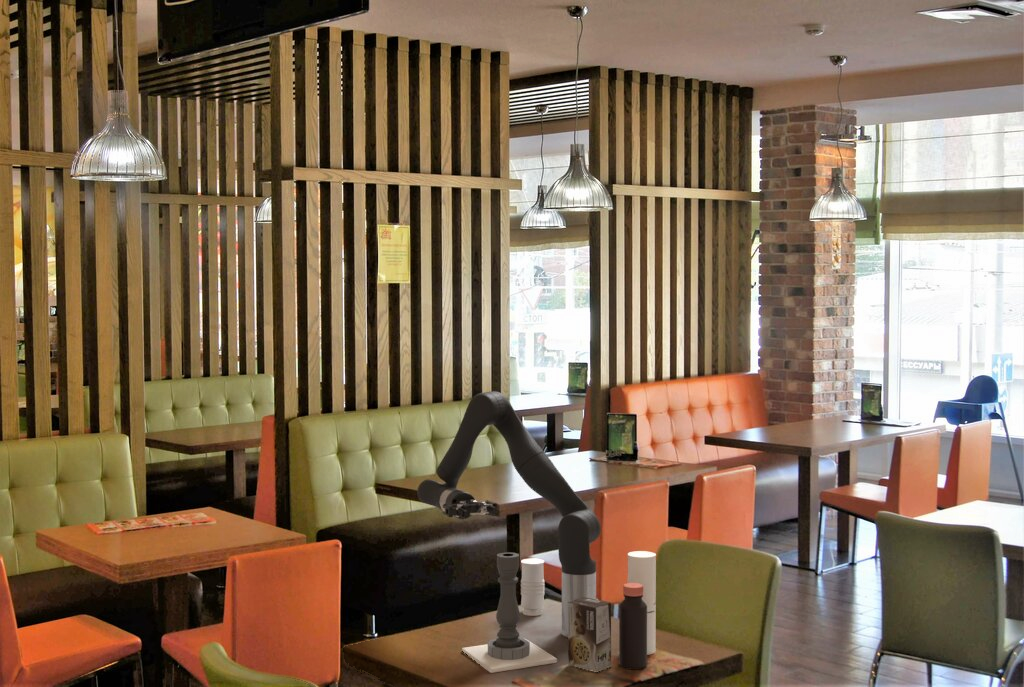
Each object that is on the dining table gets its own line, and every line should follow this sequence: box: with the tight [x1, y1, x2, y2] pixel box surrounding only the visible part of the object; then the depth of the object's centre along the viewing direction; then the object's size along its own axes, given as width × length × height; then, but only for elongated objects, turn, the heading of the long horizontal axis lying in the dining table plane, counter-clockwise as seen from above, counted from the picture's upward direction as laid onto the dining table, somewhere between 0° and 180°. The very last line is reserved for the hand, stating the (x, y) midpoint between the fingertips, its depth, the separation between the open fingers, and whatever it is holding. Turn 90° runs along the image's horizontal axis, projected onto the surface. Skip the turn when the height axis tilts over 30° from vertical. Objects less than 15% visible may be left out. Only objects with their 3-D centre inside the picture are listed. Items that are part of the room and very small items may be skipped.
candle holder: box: [495, 551, 521, 648], centre depth 286 cm, size 6×6×25 cm
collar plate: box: [461, 637, 558, 674], centre depth 286 cm, size 18×18×4 cm
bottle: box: [618, 582, 648, 670], centre depth 279 cm, size 7×7×20 cm
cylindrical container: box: [627, 550, 657, 656], centre depth 291 cm, size 7×7×25 cm
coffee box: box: [567, 597, 612, 672], centre depth 279 cm, size 9×6×16 cm
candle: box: [520, 557, 546, 617], centre depth 325 cm, size 7×7×15 cm
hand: (480, 513), depth 298 cm, fingers open, 8 cm apart
